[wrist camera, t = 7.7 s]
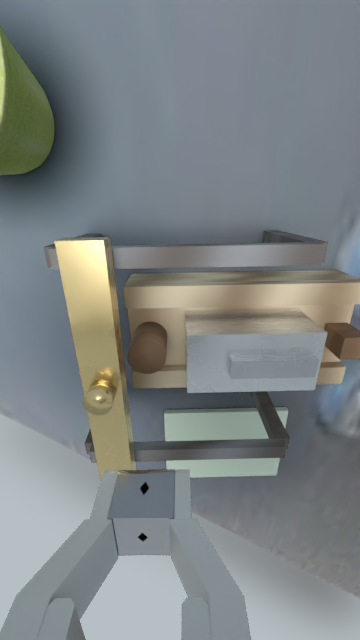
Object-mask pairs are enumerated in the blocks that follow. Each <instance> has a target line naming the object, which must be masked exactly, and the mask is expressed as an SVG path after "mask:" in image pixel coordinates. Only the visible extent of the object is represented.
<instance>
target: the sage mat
mask: <svg viewBox="0 0 360 640" xmlns="http://www.w3.org/2000/svg"><path fill="white" fill-rule="evenodd" d="M274 408H275V410H276V412H277V414H278V416H279V418H280V420H281V422H282V424H283V426H284V428H285V427H286V422H287V416H288V409H287V407H274ZM164 425H165V441H195V440H235V439H269V437H268V435H267V432H266V430H265V428H264V425H263V423H262V420H261V418H260V415H259V413H258V410H257V408H225V409H182V410H164ZM279 460H280V458H251V459H212V460H173V461H166V465H167V469H175V470H178V469H190V478H194V477H233V476H271V475H277V471H278V466H279Z"/></svg>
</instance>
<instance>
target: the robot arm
mask: <svg viewBox="0 0 360 640" xmlns="http://www.w3.org/2000/svg"><path fill="white" fill-rule="evenodd" d="M123 555H124V556H125V555H171V559H172V561H173V563H174V566H175V568H176V570H177V573H178V575H179V577H180V580H181V582H182V584H183V587H184V589H185V591H186V593H187V596H188V598H186V599H185V601H184V602H183V604H182V640H251V636H250V631H249V624H248V618H247V612H246V606H245V600H244V596H243V594H242V592H241V591H240V589H239V588H238V586H237V584H236V582H235V581H234V579H233V578H232V576H231V574H230V573H229V571H228V570H227V568H226V566H225V565H224V563H223V562H222V560H221V558H220V557H219V555H218V554H217V552H216V550H215V549H214V547H213V545H212V544H211V542H210V541H209V539H208V537H207V536H206V534H205V532H204V531H203V529H202V528H201V526H200V524H199V523H198V521H197V520H196V519H192V514H191V485H190V469H178V470H175V469H160V470H105V472H104V474H103V476H102V479H101V483H100V486H99V490H98V493H97V496H96V500H95V503H94V507H93V510H92V513H91V516H90V519H88V520H84V521H83V522H82V524H81V525H80V526H79V527H78V528H77V529H76V531H74V532H73V534H72V535H71V536H70V537H69V538H68V539H67V540H66V541H65V542H64V543H63V545H62V546H61V547H60V548H59V549H58V550H57V551H56V553H54V555H53V556H52V557H51V558H50V559H49V560H48V561H47V562H46V563H45V564H44V566H43V567H42V568H41V569H40V570H39V571H38V572H37V573H36V574H35V576H34V577H33V578H32V579H31V580H30V581H29V582H28V583H27V584H26V585H25V587H24V588H23V589H22V590H21V591H20V592H19V593H18V594H17V595H16V597H15V599H14V602H13V604H12V607H11V608H10V611H9V613H8V616H7V618H6V620H5V622H4V625H3V627H2V629H1V632H0V640H86V639H85V636H84V633H83V630H82V627H81V623H80V618H81V617H82V615H83V614H84V612H85V611H86V609H87V607H88V605H89V604H90V603H91V601H92V599H93V598H94V596H95V595H96V593H97V591H98V590H99V588H100V587H101V585H102V583H103V582H104V580H105V579H106V577H107V575H108V574H109V572H110V571H111V569H112V567H113V565H114V564H115V563H116V561H117V559H118V556H123Z"/></svg>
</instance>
